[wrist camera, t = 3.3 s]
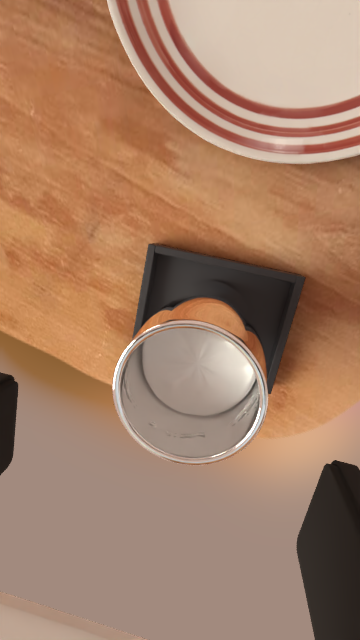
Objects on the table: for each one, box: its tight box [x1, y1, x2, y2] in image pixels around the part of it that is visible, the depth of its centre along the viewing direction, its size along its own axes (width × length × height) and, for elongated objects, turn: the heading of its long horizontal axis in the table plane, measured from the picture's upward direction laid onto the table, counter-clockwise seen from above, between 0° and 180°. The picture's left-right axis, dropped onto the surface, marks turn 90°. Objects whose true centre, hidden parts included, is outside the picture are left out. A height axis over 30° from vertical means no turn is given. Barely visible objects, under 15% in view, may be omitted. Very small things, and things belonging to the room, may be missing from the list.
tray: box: [132, 243, 305, 394], centre depth 28 cm, size 12×10×2 cm
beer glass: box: [113, 281, 268, 465], centre depth 21 cm, size 7×7×15 cm
